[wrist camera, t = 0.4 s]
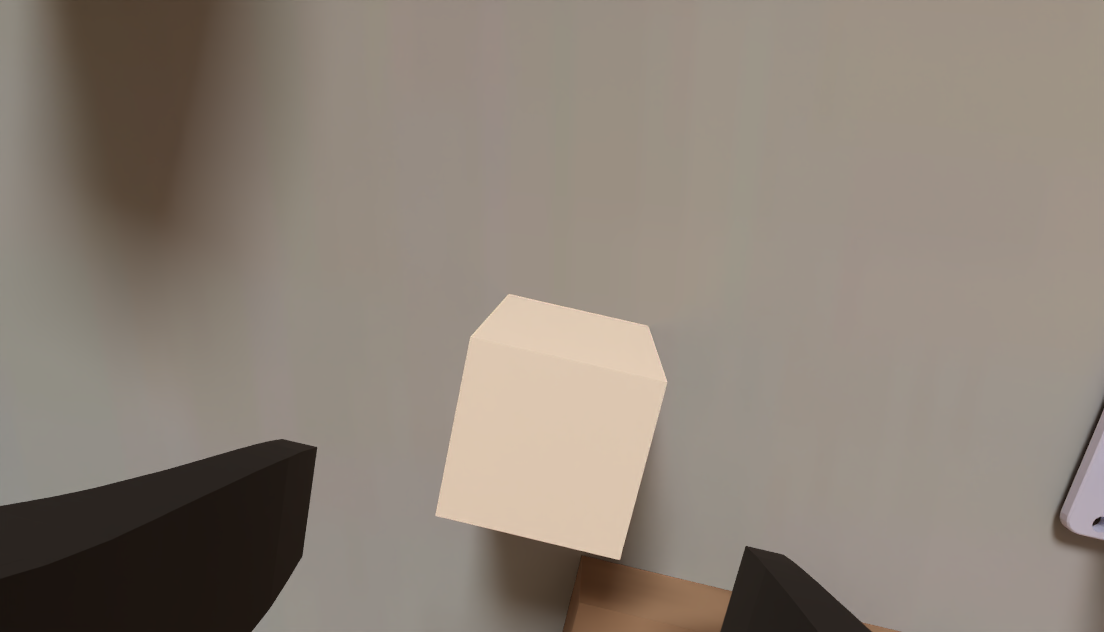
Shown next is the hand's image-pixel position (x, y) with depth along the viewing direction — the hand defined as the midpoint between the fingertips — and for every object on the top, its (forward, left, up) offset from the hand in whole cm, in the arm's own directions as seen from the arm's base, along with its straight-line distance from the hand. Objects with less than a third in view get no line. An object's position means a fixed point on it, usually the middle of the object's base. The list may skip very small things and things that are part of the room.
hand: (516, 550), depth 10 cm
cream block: (0, 0, -10) cm, 10 cm away
